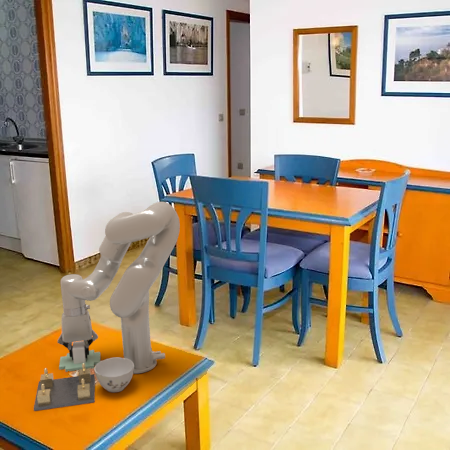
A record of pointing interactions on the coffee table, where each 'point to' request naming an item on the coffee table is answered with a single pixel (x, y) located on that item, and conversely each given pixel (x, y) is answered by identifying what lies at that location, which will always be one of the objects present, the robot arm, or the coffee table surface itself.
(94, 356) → the circuit board
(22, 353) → the coffee table surface
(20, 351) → the coffee table surface
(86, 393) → the chassis
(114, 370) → the teacup
